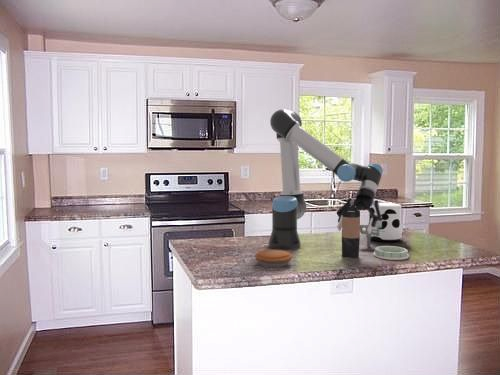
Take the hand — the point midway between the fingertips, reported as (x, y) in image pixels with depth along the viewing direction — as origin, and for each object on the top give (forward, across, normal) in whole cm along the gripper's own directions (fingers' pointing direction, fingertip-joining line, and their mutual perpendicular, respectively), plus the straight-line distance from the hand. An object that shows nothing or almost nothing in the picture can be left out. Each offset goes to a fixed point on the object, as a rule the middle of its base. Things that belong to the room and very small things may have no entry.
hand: (353, 230), depth 200 cm
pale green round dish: (0, -13, -16) cm, 20 cm away
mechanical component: (-8, +1, -24) cm, 25 cm away
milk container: (-21, 0, -38) cm, 43 cm away
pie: (+29, +22, +13) cm, 39 cm away
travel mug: (+9, +1, -8) cm, 12 cm away
